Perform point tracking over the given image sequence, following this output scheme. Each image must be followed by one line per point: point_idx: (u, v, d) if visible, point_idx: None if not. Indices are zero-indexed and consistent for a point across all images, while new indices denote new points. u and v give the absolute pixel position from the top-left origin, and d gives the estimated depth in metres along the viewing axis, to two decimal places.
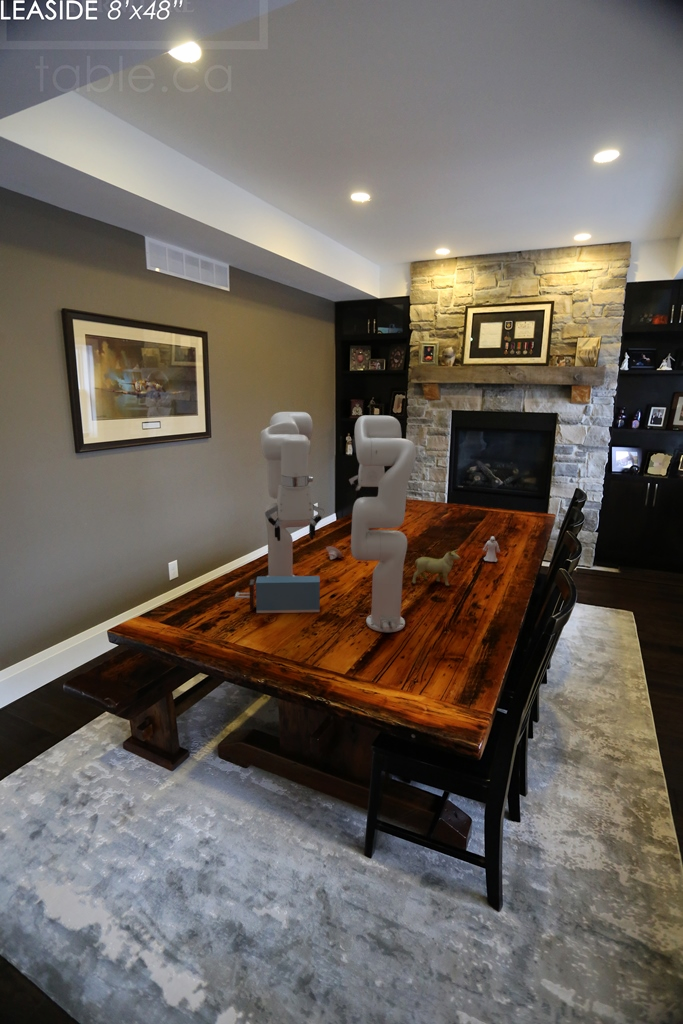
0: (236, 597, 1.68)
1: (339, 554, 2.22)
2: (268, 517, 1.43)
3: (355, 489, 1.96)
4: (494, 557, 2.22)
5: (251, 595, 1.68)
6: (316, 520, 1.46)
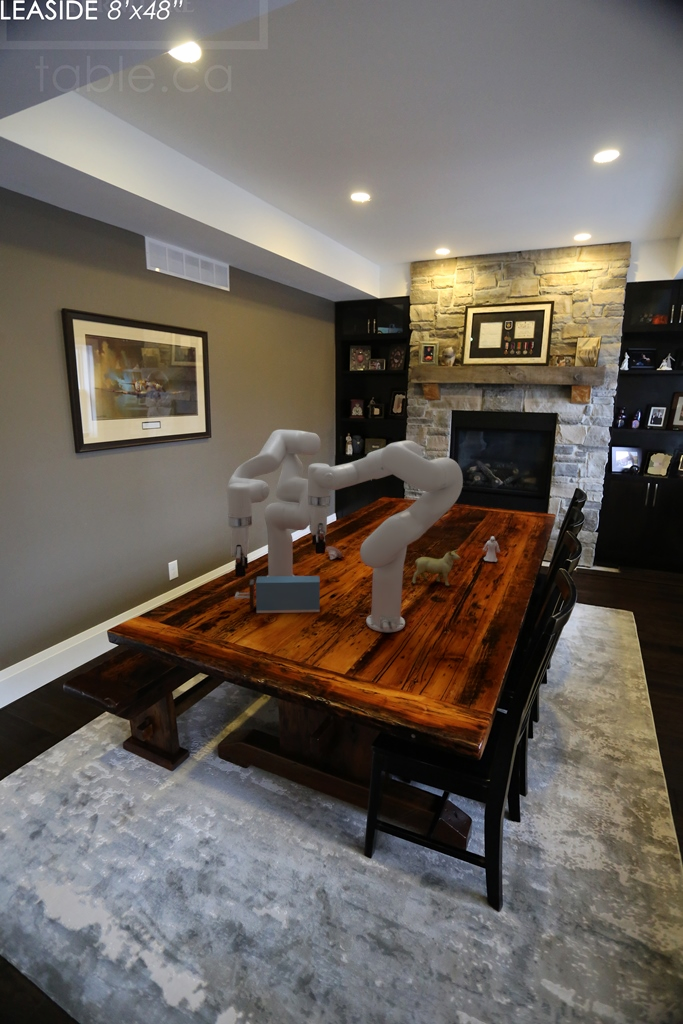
0: (236, 597, 1.68)
1: (339, 554, 2.22)
2: (240, 559, 1.60)
3: None
4: (494, 557, 2.22)
5: (251, 595, 1.68)
6: None
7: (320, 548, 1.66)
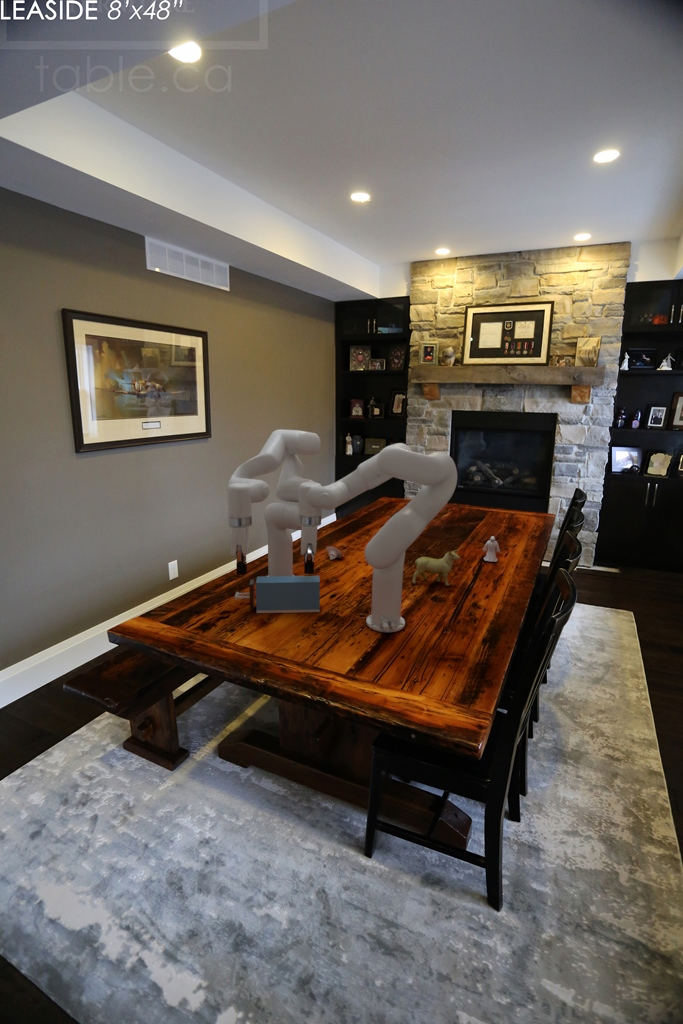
0: (236, 597, 1.68)
1: (339, 554, 2.22)
2: (241, 559, 1.63)
3: None
4: (494, 557, 2.22)
5: (251, 595, 1.68)
6: None
7: (308, 568, 1.63)
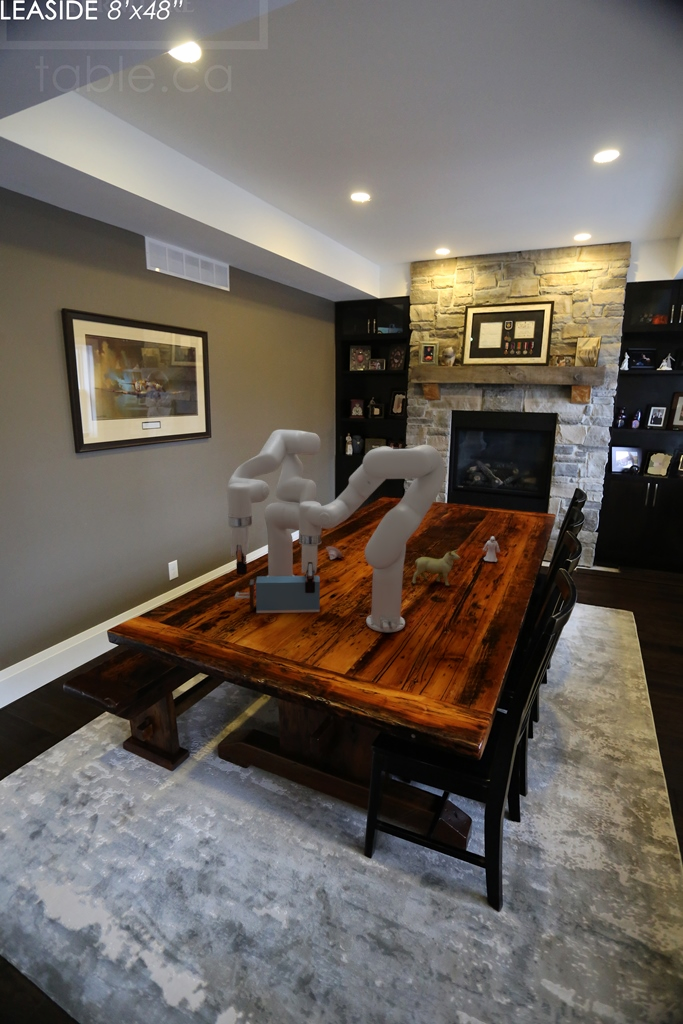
0: (236, 597, 1.68)
1: (339, 554, 2.22)
2: (241, 559, 1.63)
3: None
4: (494, 557, 2.22)
5: (251, 595, 1.68)
6: None
7: (309, 588, 1.66)
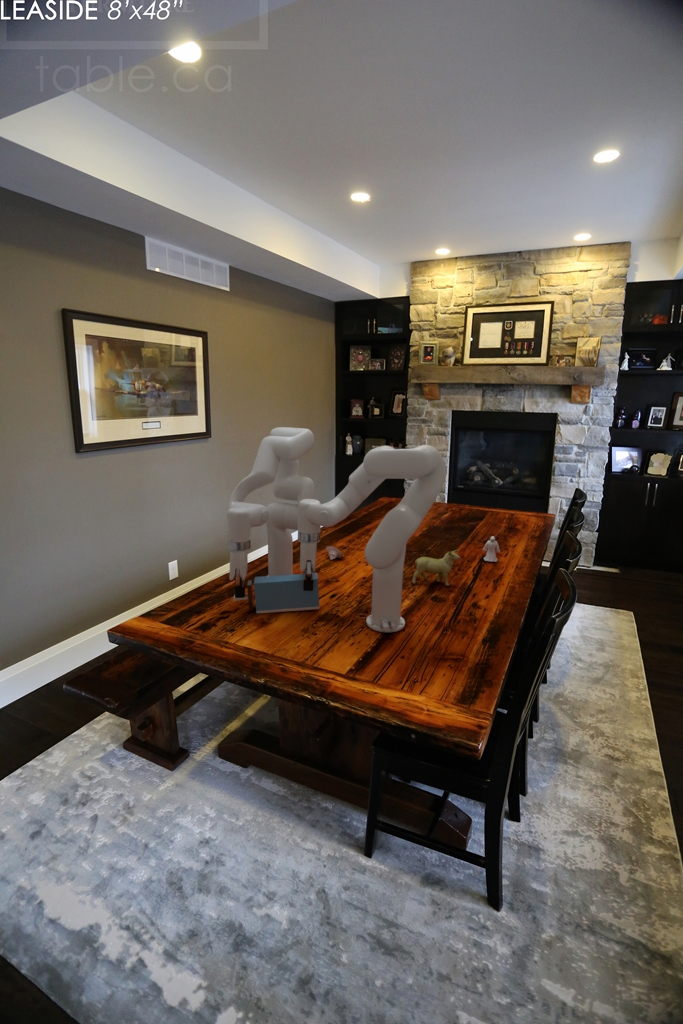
0: (235, 599, 1.68)
1: (339, 554, 2.22)
2: (240, 583, 1.64)
3: (305, 570, 1.74)
4: (494, 557, 2.22)
5: (249, 596, 1.68)
6: (243, 581, 1.70)
7: (308, 585, 1.66)
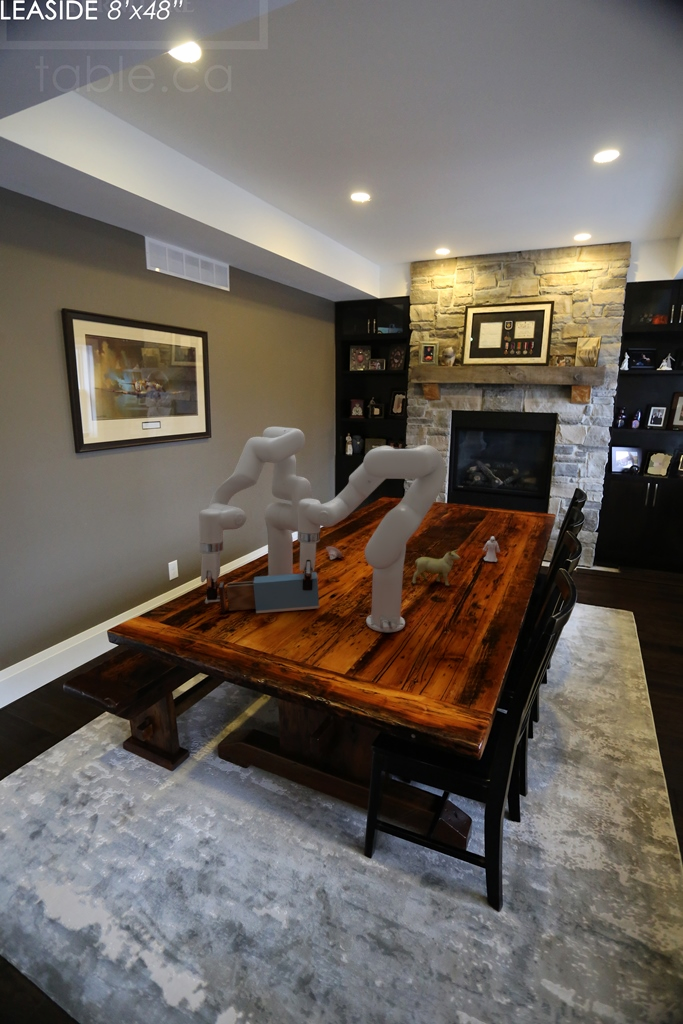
0: (206, 601, 1.67)
1: (339, 554, 2.22)
2: (211, 585, 1.63)
3: (305, 569, 1.74)
4: (494, 557, 2.22)
5: (221, 598, 1.67)
6: (215, 583, 1.70)
7: (307, 585, 1.67)
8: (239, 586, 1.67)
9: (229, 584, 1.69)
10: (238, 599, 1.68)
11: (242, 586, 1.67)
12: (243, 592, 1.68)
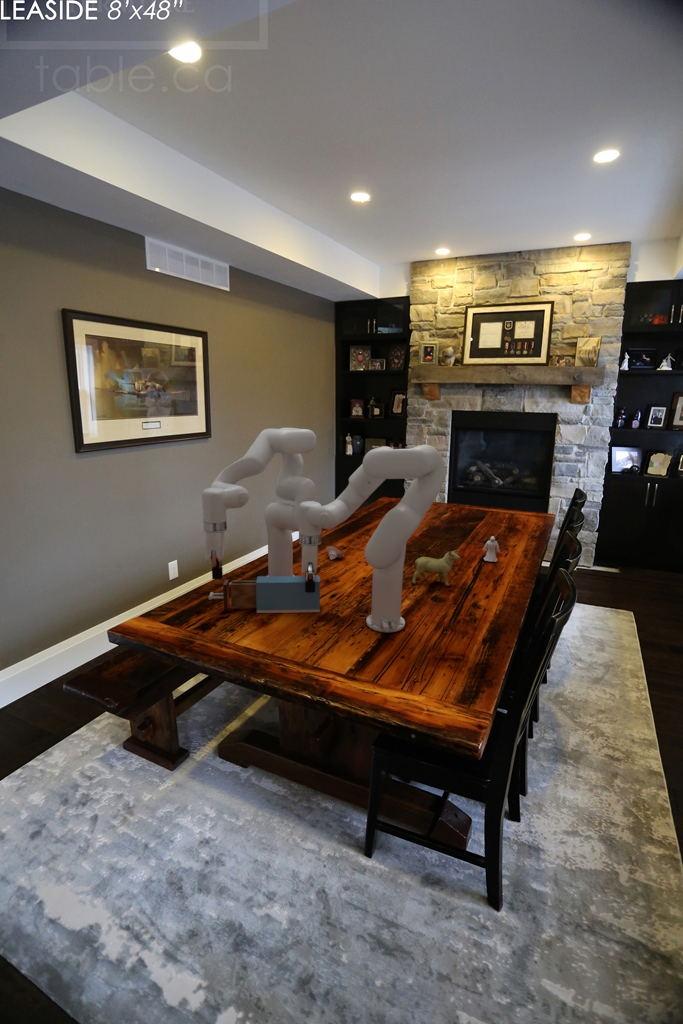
0: (210, 597, 1.67)
1: (339, 554, 2.22)
2: (216, 564, 1.63)
3: None
4: (494, 557, 2.22)
5: (225, 595, 1.67)
6: None
7: (309, 587, 1.65)
8: (243, 585, 1.67)
9: (233, 582, 1.70)
10: (242, 598, 1.69)
11: (246, 584, 1.67)
12: (247, 591, 1.68)
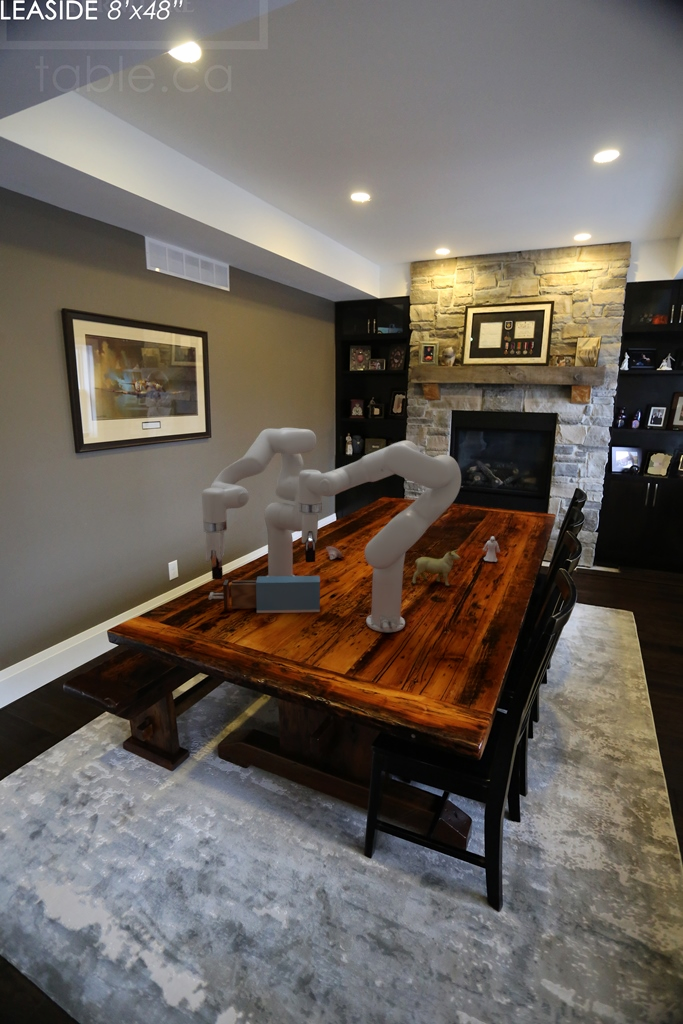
0: (210, 597, 1.67)
1: (339, 554, 2.22)
2: (216, 564, 1.63)
3: None
4: (494, 557, 2.22)
5: (225, 595, 1.67)
6: None
7: (310, 556, 1.62)
8: (243, 585, 1.67)
9: (233, 582, 1.70)
10: (242, 598, 1.69)
11: (246, 584, 1.67)
12: (247, 591, 1.68)
